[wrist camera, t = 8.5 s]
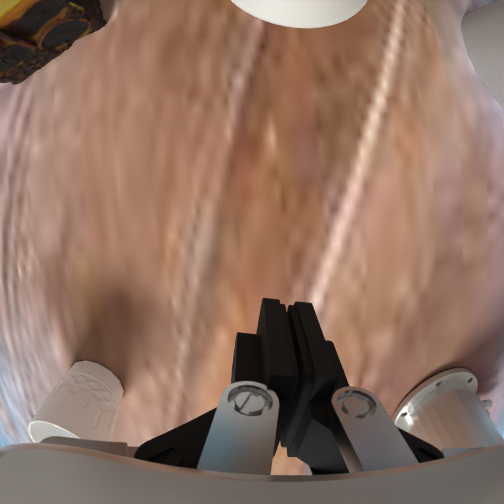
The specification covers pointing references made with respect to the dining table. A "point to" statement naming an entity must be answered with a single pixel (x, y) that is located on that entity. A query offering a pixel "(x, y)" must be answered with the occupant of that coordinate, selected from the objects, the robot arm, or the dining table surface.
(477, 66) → the lumpy-topped squat cylinder
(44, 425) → the white cup
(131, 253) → the dining table surface
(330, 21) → the disc
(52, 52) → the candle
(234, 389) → the robot arm
